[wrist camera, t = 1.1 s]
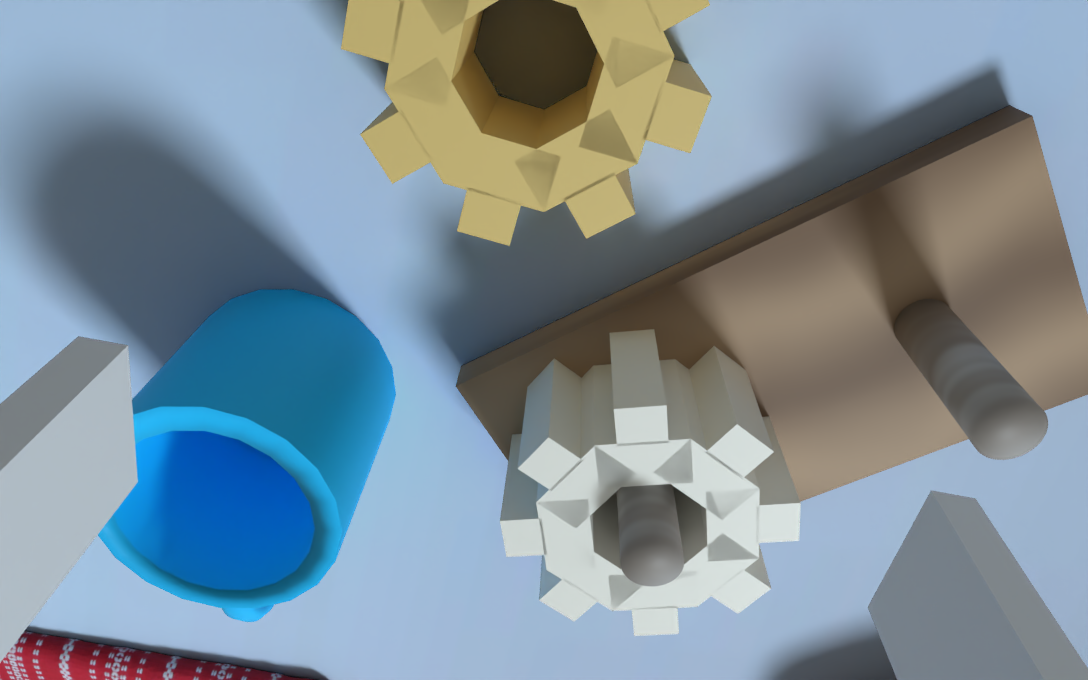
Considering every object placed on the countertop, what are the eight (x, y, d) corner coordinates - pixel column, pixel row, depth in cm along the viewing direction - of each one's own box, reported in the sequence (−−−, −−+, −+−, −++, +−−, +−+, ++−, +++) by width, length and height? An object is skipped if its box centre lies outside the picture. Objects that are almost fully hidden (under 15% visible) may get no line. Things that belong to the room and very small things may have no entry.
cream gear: (464, 454, 32) (444, 542, 27) (627, 279, 28) (635, 348, 23) (649, 575, 34) (659, 673, 30) (823, 430, 30) (863, 518, 26)
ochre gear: (324, -21, 25) (268, -6, 21) (603, -206, 22) (607, -234, 18) (485, 239, 29) (467, 298, 25) (739, 106, 26) (770, 146, 22)
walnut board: (461, 366, 32) (425, 497, 24) (1009, 105, 26) (1167, 178, 19) (591, 554, 36) (592, 712, 29) (1085, 366, 30) (1236, 504, 23)
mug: (185, 273, 30) (61, 387, 23) (400, 303, 30) (344, 426, 23) (206, 517, 36) (112, 669, 29) (388, 541, 36) (339, 698, 29)
